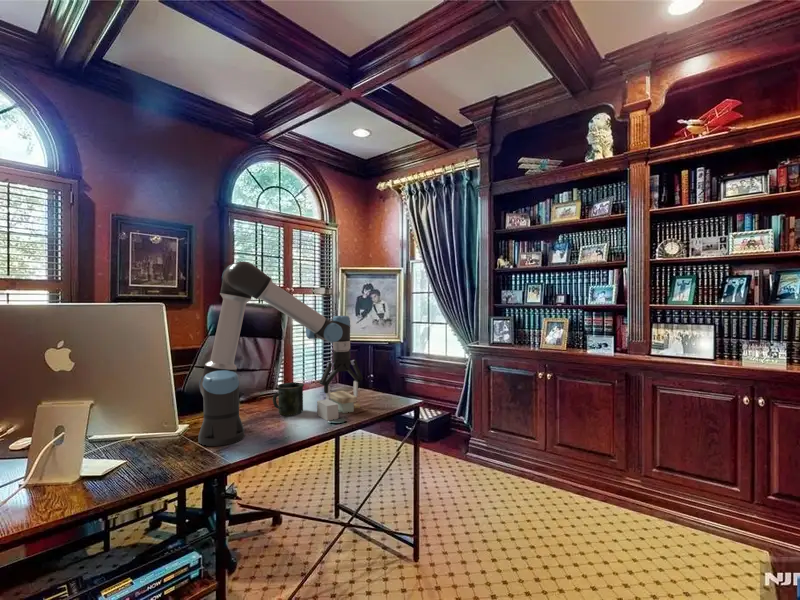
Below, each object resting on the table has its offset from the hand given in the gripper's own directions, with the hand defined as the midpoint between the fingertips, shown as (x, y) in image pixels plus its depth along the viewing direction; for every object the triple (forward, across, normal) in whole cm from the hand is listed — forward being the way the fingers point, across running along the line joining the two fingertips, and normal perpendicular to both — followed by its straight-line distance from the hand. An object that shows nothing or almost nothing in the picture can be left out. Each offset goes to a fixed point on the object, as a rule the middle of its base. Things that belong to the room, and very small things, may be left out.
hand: (342, 398), depth 184 cm
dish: (+5, 0, 0) cm, 5 cm away
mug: (+5, -22, +8) cm, 24 cm away
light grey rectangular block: (+5, -10, -6) cm, 13 cm away
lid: (0, 0, 0) cm, 0 cm away
